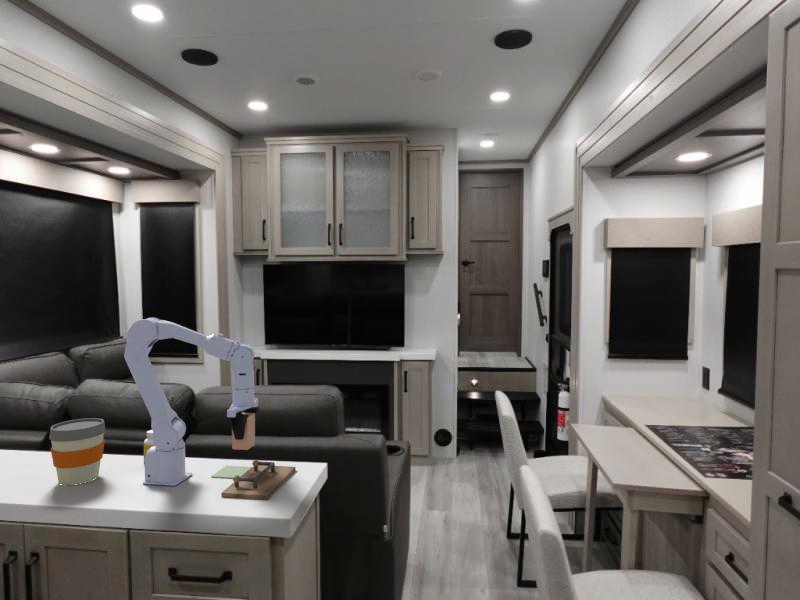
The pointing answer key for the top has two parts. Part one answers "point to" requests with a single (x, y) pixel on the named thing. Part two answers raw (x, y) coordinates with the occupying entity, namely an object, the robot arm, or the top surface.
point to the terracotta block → (246, 434)
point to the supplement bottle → (148, 442)
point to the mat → (231, 471)
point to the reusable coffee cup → (77, 449)
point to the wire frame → (258, 481)
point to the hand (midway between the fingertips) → (243, 436)
